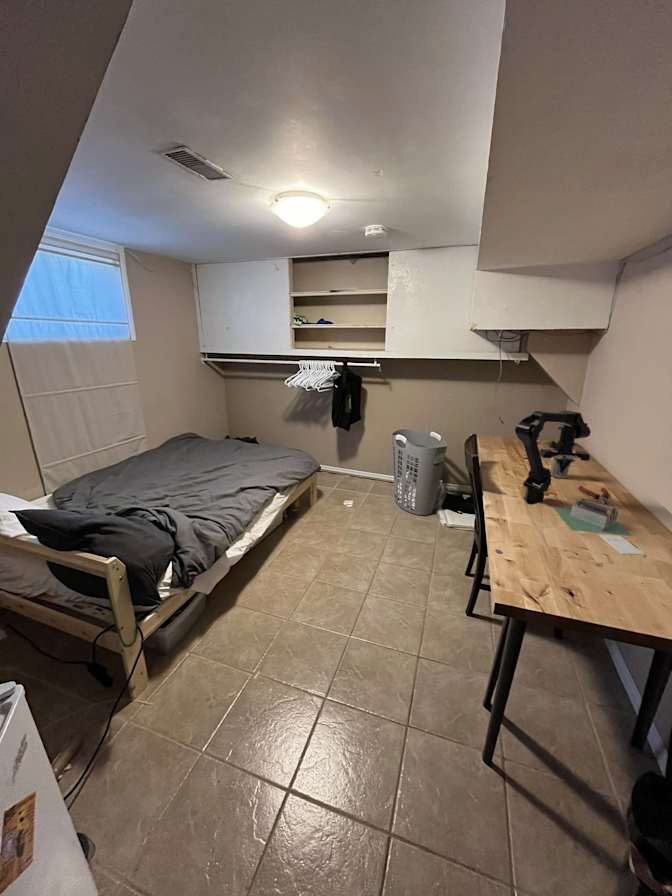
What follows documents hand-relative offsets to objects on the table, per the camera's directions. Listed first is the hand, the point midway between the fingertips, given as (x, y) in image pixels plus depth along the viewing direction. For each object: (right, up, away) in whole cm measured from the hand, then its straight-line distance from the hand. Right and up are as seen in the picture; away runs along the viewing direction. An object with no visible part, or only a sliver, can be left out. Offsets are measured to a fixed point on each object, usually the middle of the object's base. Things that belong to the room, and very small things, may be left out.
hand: (560, 472), depth 165 cm
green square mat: (-2, -18, -21) cm, 28 cm away
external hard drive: (-3, -24, -38) cm, 45 cm away
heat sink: (-1, -18, -21) cm, 28 cm away
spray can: (+17, -4, +30) cm, 35 cm away
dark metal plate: (-1, -12, -23) cm, 26 cm away
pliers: (+18, -12, +5) cm, 23 cm away
